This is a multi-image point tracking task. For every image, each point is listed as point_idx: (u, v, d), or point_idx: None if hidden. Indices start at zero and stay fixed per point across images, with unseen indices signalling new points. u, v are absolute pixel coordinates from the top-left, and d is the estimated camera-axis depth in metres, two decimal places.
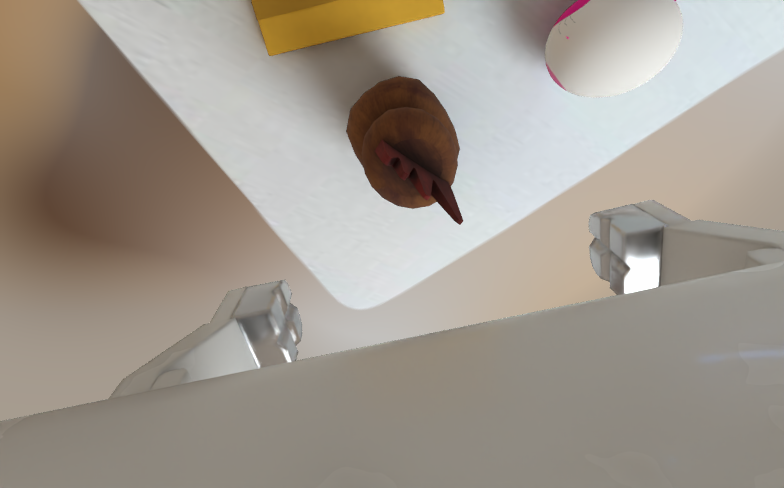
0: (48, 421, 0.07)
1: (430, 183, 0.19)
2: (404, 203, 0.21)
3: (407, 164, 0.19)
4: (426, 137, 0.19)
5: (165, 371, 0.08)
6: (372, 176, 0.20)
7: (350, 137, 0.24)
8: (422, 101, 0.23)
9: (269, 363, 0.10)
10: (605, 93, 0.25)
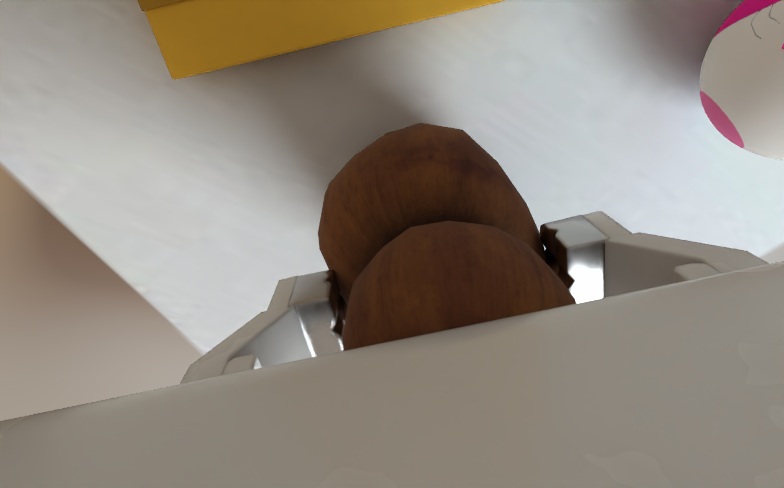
0: (48, 421, 0.07)
1: None
2: None
3: None
4: None
5: (233, 357, 0.08)
6: None
7: (324, 256, 0.12)
8: (483, 191, 0.10)
9: (324, 352, 0.10)
10: None
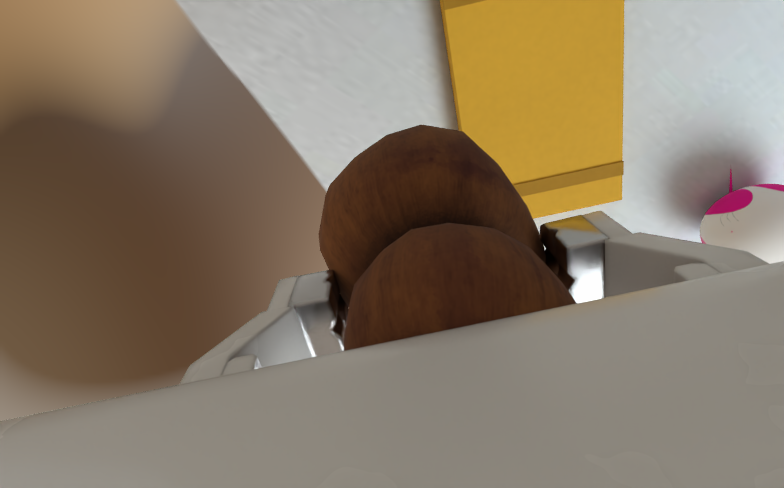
0: (48, 421, 0.07)
1: None
2: None
3: None
4: None
5: (233, 357, 0.08)
6: None
7: (324, 257, 0.12)
8: (483, 194, 0.10)
9: (324, 352, 0.10)
10: None
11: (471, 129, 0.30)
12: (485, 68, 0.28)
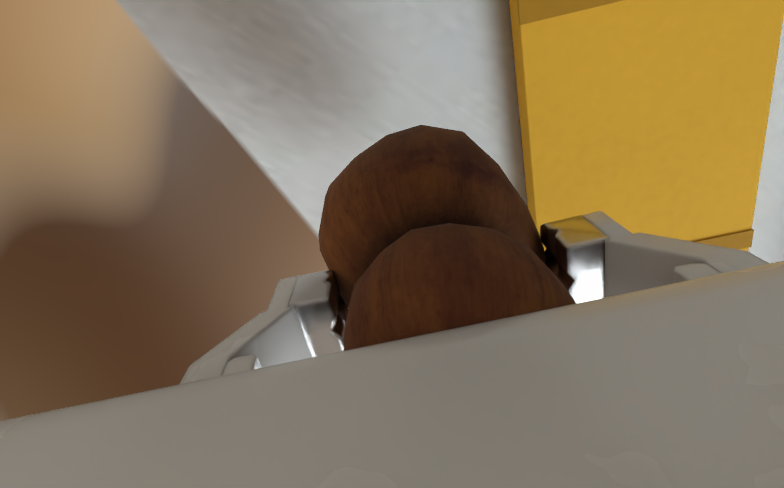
0: (48, 421, 0.07)
1: None
2: None
3: None
4: None
5: (233, 357, 0.08)
6: None
7: (324, 258, 0.12)
8: (483, 194, 0.10)
9: (324, 352, 0.10)
10: None
11: (546, 190, 0.21)
12: (573, 107, 0.20)
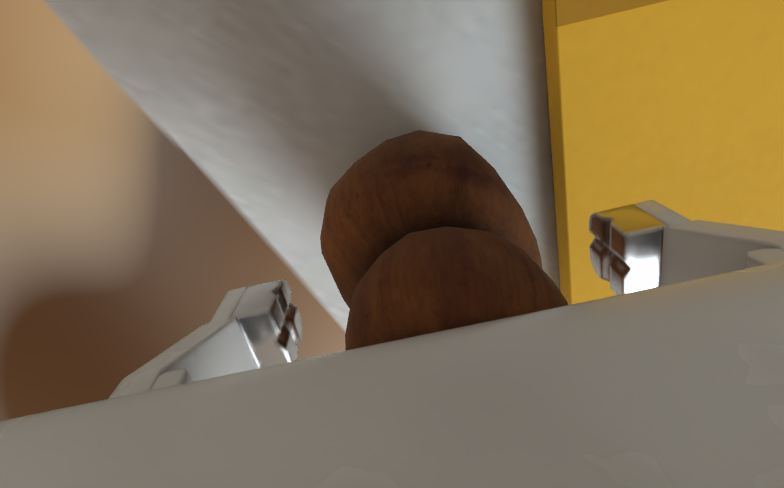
0: (48, 421, 0.07)
1: None
2: None
3: None
4: None
5: (165, 371, 0.08)
6: None
7: (326, 260, 0.12)
8: (479, 198, 0.10)
9: (269, 363, 0.10)
10: None
11: (584, 230, 0.17)
12: (620, 129, 0.16)
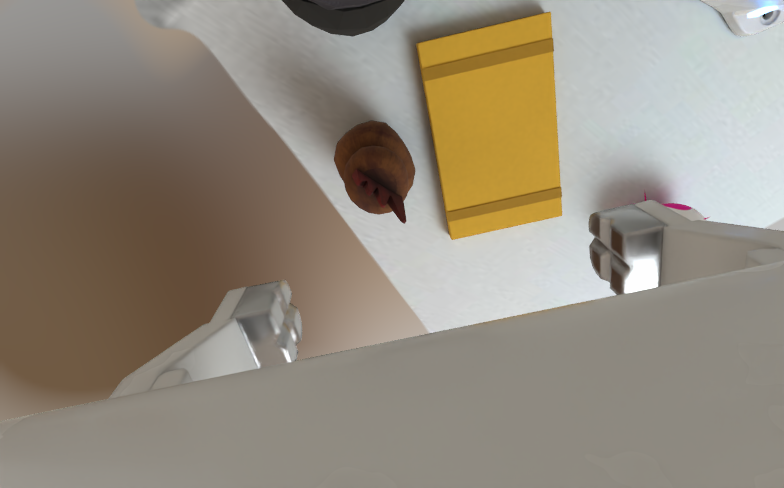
0: (48, 421, 0.07)
1: (387, 197, 0.29)
2: (372, 210, 0.31)
3: (372, 185, 0.29)
4: (386, 166, 0.30)
5: (165, 371, 0.08)
6: (350, 192, 0.30)
7: (336, 164, 0.34)
8: (385, 140, 0.33)
9: (269, 363, 0.10)
10: None
11: (445, 165, 0.40)
12: (455, 121, 0.38)
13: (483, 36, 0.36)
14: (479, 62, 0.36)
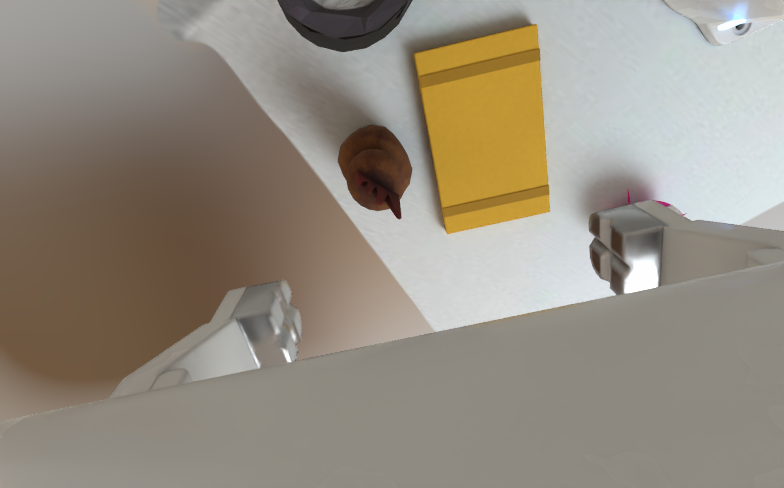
0: (48, 421, 0.07)
1: (385, 196, 0.32)
2: (372, 207, 0.34)
3: (371, 185, 0.32)
4: (384, 168, 0.33)
5: (165, 371, 0.08)
6: (352, 191, 0.34)
7: (340, 165, 0.38)
8: (384, 143, 0.36)
9: (269, 363, 0.10)
10: None
11: (441, 165, 0.43)
12: (449, 124, 0.41)
13: (475, 47, 0.39)
14: (471, 70, 0.39)
